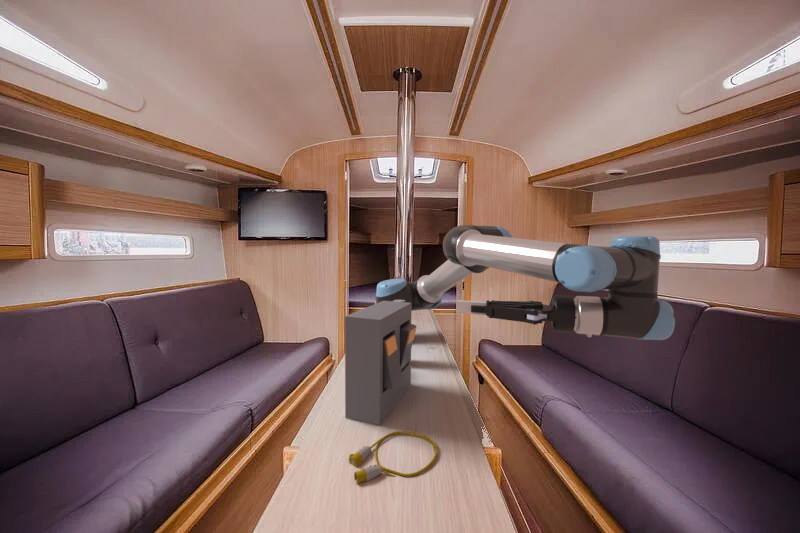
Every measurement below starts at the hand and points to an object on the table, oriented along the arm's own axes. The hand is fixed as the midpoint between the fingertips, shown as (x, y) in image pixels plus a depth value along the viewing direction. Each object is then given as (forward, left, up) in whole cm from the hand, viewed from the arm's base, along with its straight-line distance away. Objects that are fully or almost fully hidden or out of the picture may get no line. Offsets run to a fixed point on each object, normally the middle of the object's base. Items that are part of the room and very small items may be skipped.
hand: (457, 306), depth 71 cm
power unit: (+5, -17, -23) cm, 29 cm away
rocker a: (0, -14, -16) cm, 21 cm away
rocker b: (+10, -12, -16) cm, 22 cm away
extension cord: (+22, -7, -24) cm, 33 cm away
